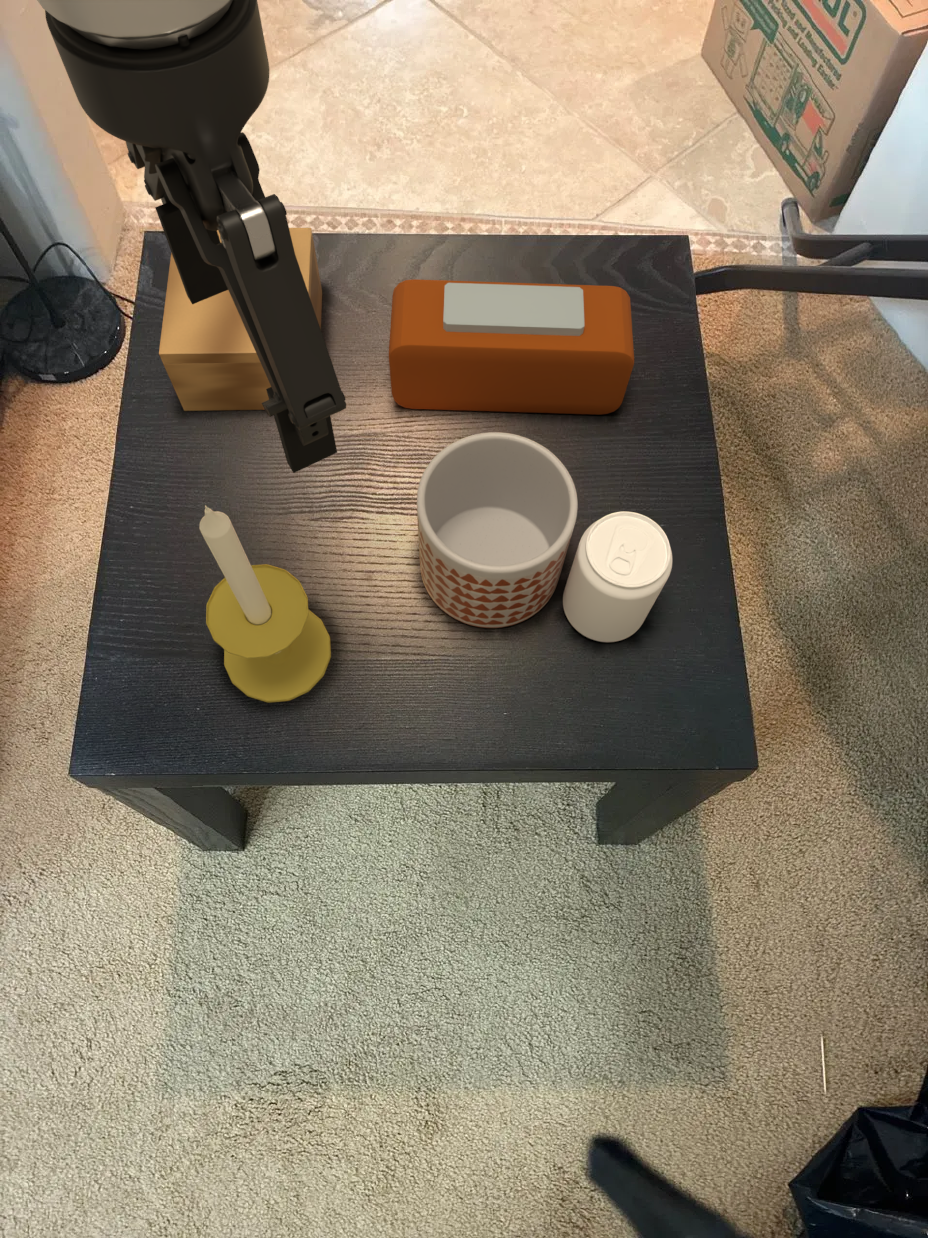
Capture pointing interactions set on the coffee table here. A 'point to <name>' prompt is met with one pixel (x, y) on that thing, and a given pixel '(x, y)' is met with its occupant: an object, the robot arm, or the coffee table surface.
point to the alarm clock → (510, 346)
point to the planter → (494, 528)
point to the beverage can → (616, 576)
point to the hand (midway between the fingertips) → (259, 371)
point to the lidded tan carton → (222, 341)
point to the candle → (262, 621)
